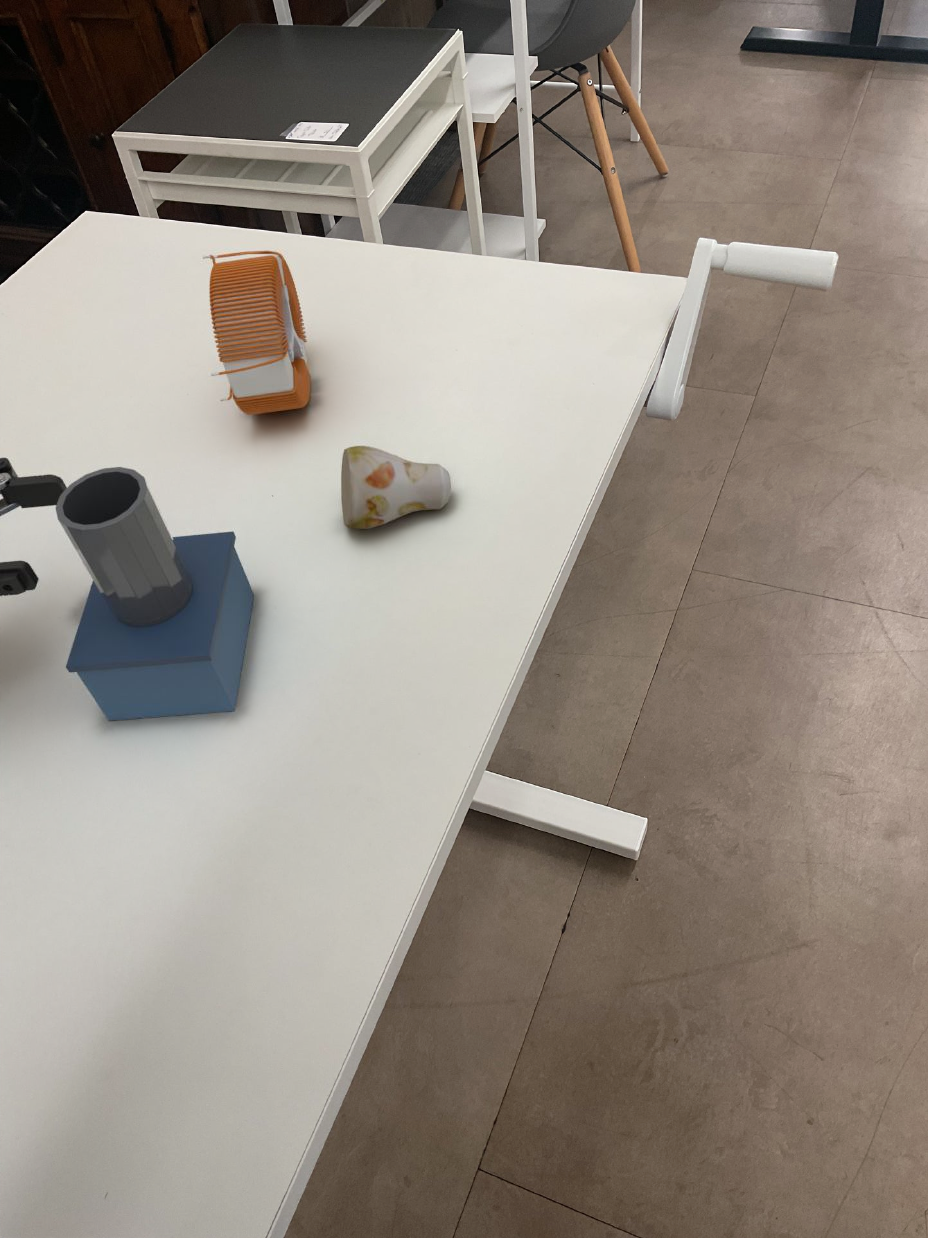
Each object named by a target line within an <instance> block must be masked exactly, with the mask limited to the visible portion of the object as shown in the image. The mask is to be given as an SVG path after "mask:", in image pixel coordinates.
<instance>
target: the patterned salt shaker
mask: <svg viewBox="0 0 928 1238" xmlns="http://www.w3.org/2000/svg"><path fill="white" fill-rule="evenodd" d="M341 459H342V460H341V472H340V495H341V497H340V498H341V510H342V512H341V513H342V519H343V524H344V526H345V527H347V528H353V529H356V530H357V529H358V530H363V529H364V530H365V529H373V528H377V527H379V526H382V525H385V524H387V523H389V522H392V521H394V520H397V519H398V518H401V517H403V516H406V515H408V514H410V513H415V512H418V511H428V510H429V511H430V510H440V509H442V508H444V506H445V505H447V503H448V502H449V500H450V498H451V489H452V481H451V476H450V475H451V474H450V473H449V471H448V470H447V469H446V468H445V467H443V466H442V465H441V464H439V463H423V462H422V463H421V462H415V461H411V460H407V459H404V458H402V457H401V456H397V455H395V454H392V453H390V452H387V451H386V450H382V449H380V448H376V447H374V446H368V445H355V446H349V447H347V448H344V450H343V452H342V458H341Z"/></svg>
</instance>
